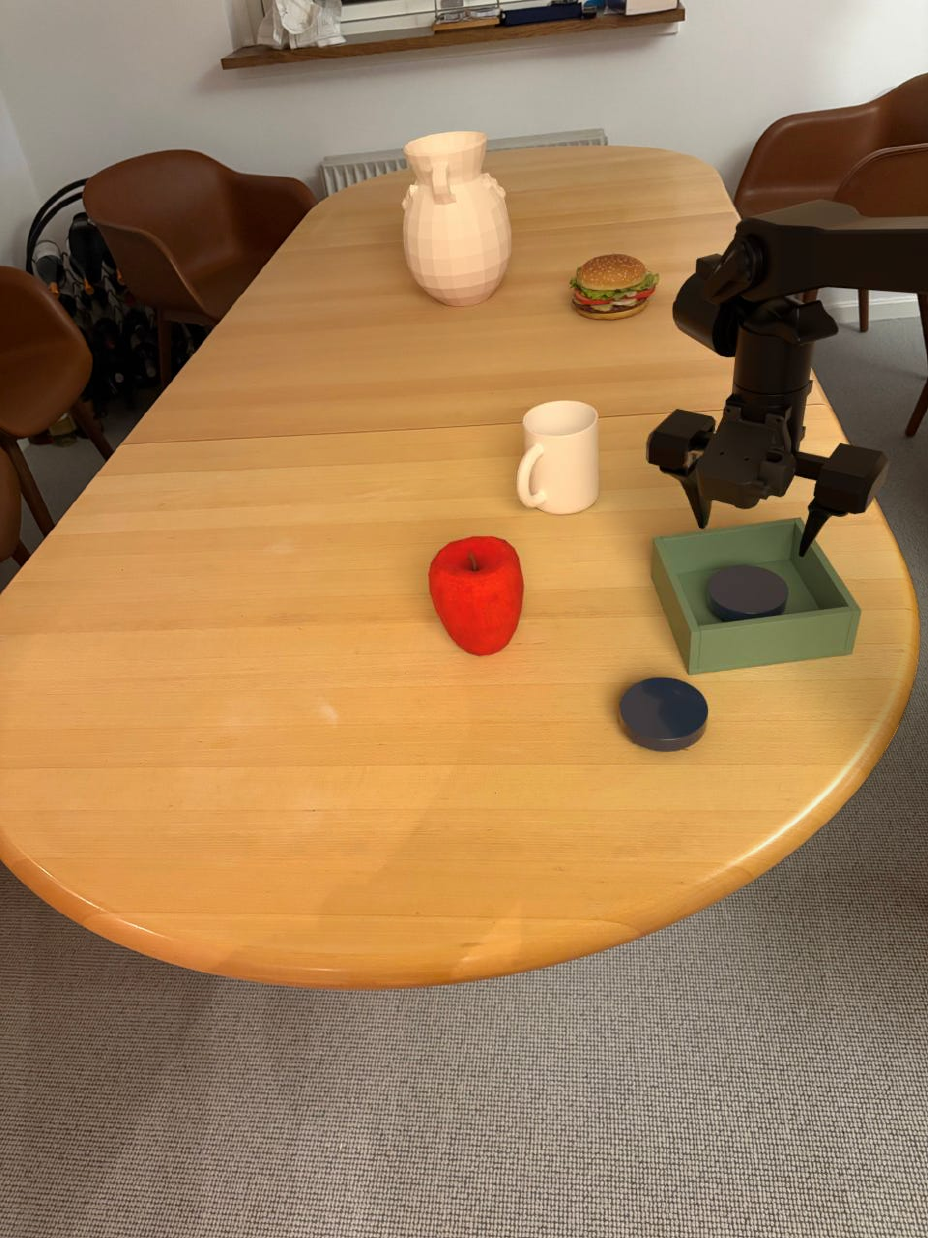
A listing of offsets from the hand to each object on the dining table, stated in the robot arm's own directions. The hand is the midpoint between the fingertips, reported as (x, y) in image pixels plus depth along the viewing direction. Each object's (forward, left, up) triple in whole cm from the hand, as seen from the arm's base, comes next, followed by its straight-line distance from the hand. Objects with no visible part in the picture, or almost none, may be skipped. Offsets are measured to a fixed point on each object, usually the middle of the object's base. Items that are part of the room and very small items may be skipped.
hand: (751, 540), depth 79 cm
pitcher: (+21, -93, -9) cm, 96 cm away
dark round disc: (0, 0, -8) cm, 8 cm away
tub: (0, 0, -8) cm, 8 cm away
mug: (+15, -23, -9) cm, 29 cm away
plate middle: (+11, +13, -8) cm, 19 cm away
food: (-3, -79, -9) cm, 79 cm away
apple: (+25, -1, -9) cm, 26 cm away
